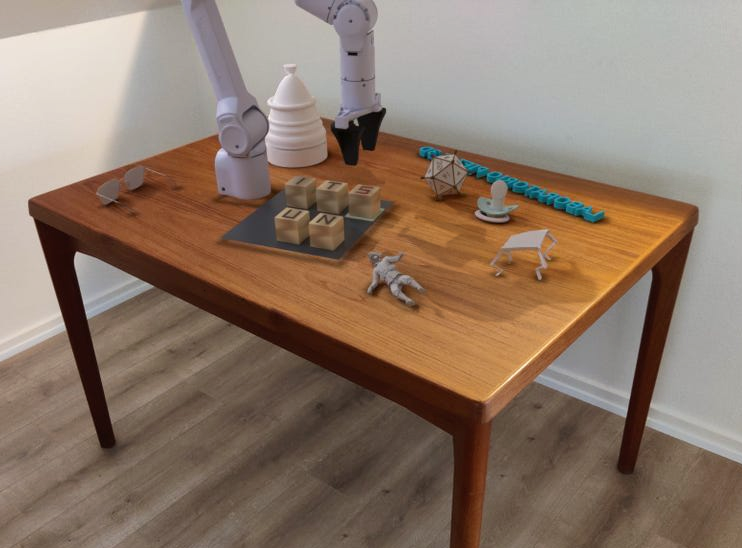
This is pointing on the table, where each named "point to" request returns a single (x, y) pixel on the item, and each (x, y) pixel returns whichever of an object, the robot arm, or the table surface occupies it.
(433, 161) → the game die
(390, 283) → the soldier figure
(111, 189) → the eyeglasses
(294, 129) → the honey pot
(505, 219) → the pacifier
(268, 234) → the letter board
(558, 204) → the text ornament
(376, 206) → the block
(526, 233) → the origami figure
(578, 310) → the table surface
